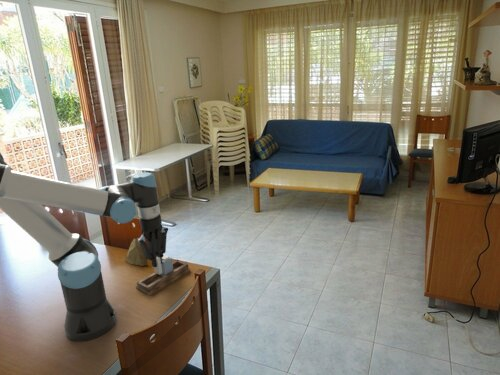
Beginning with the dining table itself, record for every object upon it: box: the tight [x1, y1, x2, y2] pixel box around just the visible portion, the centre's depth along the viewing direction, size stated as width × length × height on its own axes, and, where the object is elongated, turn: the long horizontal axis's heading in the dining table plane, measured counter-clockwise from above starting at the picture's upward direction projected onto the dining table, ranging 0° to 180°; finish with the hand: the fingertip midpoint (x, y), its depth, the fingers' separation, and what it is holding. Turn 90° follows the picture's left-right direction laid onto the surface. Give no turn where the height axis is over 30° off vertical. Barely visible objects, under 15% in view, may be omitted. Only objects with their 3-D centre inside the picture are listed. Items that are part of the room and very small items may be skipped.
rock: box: [124, 237, 148, 267], centre depth 153 cm, size 11×9×10 cm
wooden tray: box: [135, 259, 191, 296], centre depth 141 cm, size 20×8×3 cm, turn 143°
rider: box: [160, 254, 173, 277], centre depth 141 cm, size 4×3×8 cm
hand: (158, 272), depth 138 cm, fingers closed
